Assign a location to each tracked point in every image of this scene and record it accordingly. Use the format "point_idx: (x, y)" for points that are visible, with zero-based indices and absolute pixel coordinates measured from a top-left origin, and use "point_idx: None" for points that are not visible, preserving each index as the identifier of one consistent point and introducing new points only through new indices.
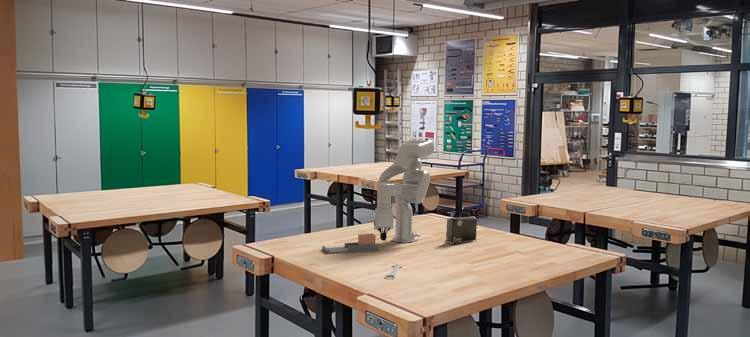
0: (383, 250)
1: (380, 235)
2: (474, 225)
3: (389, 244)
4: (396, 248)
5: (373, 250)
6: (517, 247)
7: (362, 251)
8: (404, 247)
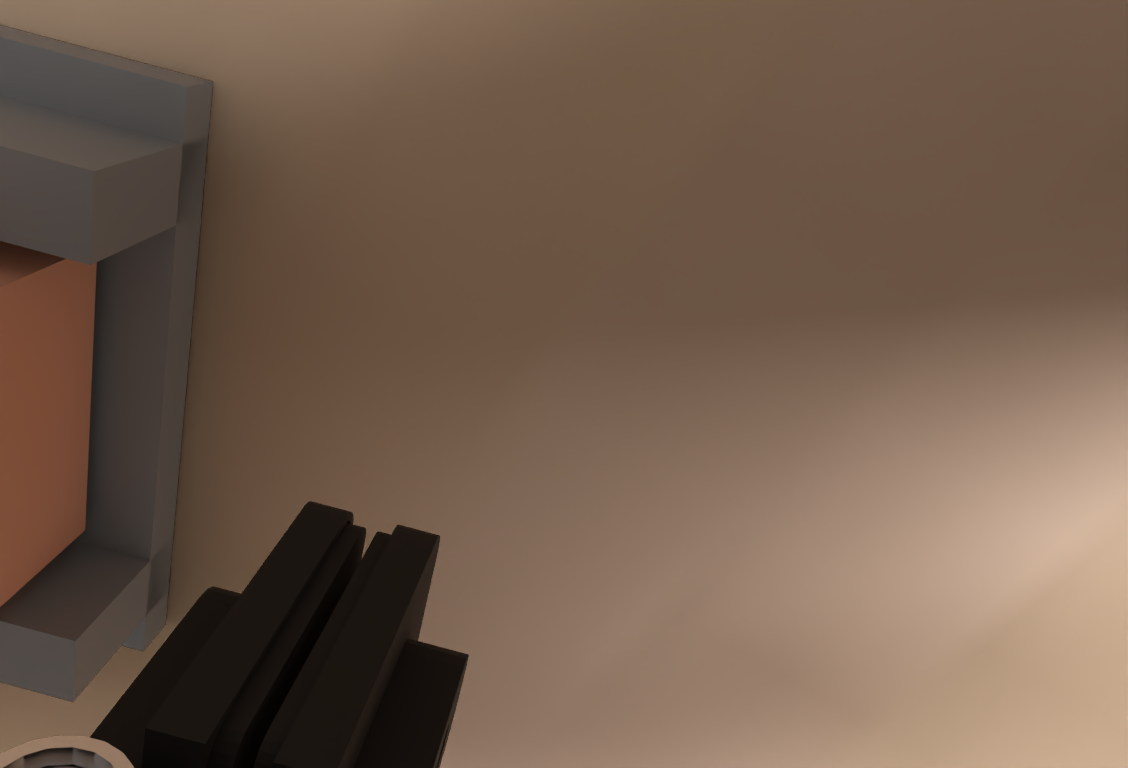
0: None
1: (144, 683)
2: None
3: (982, 136)
4: (762, 694)
5: None
6: None
7: None
8: (1063, 726)
